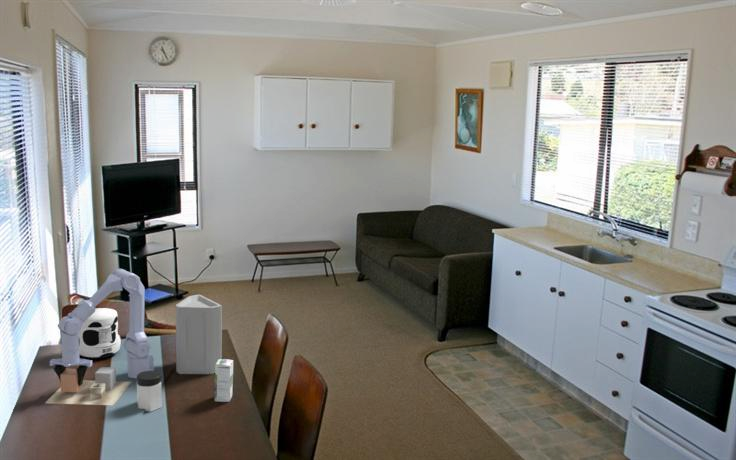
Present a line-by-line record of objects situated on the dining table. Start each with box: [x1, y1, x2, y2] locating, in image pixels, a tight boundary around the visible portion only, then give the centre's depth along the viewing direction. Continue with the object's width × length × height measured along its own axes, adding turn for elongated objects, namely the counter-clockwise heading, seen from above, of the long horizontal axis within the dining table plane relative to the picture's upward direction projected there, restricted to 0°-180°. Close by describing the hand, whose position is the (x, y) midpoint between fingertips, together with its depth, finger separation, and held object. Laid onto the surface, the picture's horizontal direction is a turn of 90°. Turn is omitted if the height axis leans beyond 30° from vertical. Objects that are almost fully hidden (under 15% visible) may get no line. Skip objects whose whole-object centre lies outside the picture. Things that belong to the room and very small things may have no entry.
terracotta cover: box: [60, 368, 83, 392], centre depth 241 cm, size 6×6×6 cm
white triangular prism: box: [175, 294, 223, 375], centre depth 268 cm, size 19×15×28 cm
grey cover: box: [94, 366, 117, 390], centre depth 247 cm, size 6×6×6 cm
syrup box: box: [213, 358, 234, 403], centre depth 243 cm, size 6×6×14 cm
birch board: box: [44, 379, 132, 406], centre depth 243 cm, size 24×20×1 cm
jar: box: [136, 370, 163, 412], centre depth 235 cm, size 9×8×12 cm
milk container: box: [78, 307, 122, 359], centre depth 279 cm, size 17×17×18 cm
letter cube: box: [90, 383, 106, 399], centre depth 240 cm, size 4×4×4 cm
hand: (72, 384), depth 241 cm, fingers closed on terracotta cover, 6 cm apart
